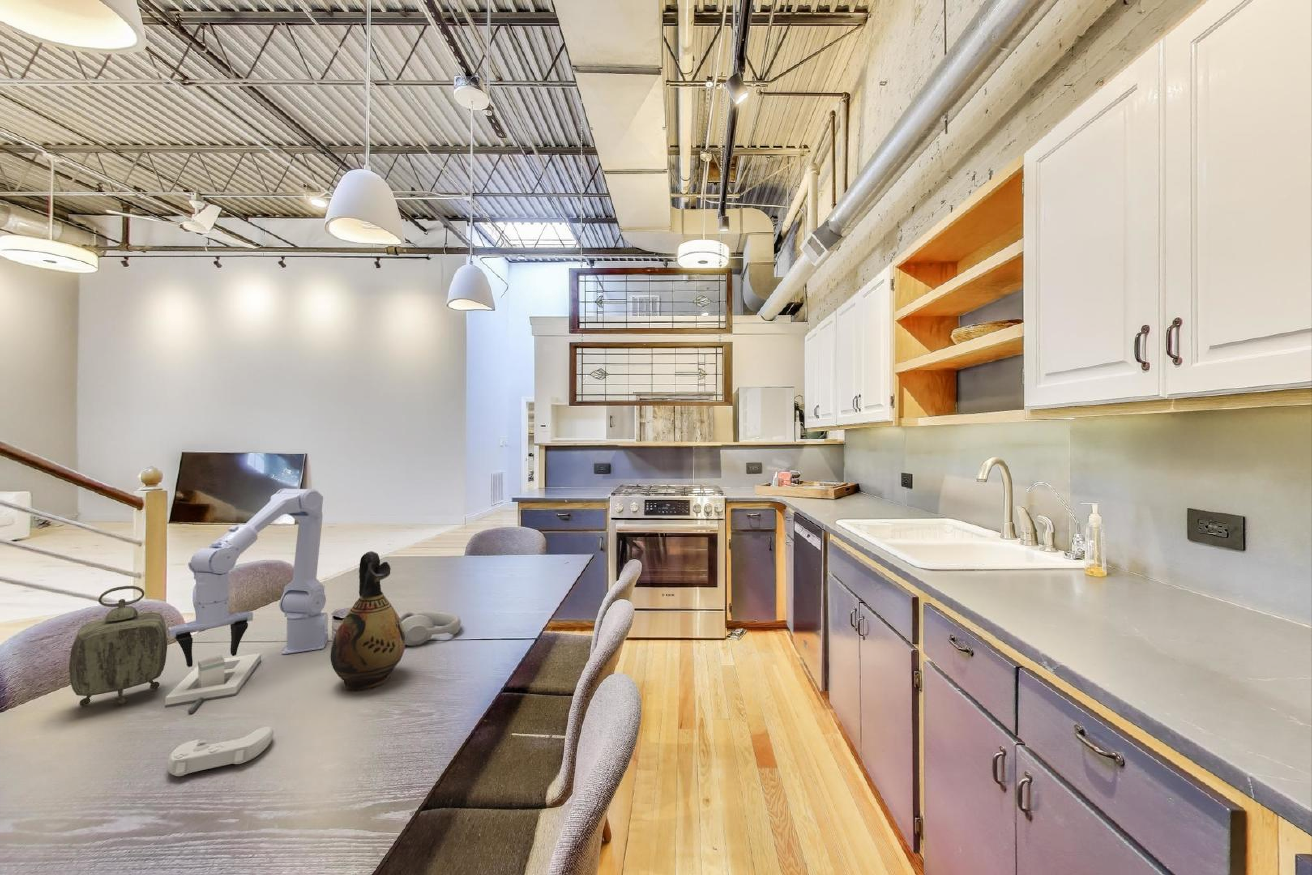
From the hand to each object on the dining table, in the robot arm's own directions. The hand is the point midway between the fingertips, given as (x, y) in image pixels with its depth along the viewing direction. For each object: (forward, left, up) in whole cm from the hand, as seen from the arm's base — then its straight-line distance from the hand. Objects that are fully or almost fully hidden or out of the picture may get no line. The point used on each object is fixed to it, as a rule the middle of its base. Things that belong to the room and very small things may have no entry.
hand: (212, 659), depth 116 cm
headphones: (-45, -15, -7) cm, 48 cm away
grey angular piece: (-28, -8, -7) cm, 30 cm away
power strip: (0, -1, -7) cm, 7 cm away
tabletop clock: (+16, -1, -7) cm, 17 cm away
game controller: (-11, +34, -7) cm, 37 cm away
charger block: (0, 0, -6) cm, 6 cm away
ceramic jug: (-32, +10, -7) cm, 34 cm away
